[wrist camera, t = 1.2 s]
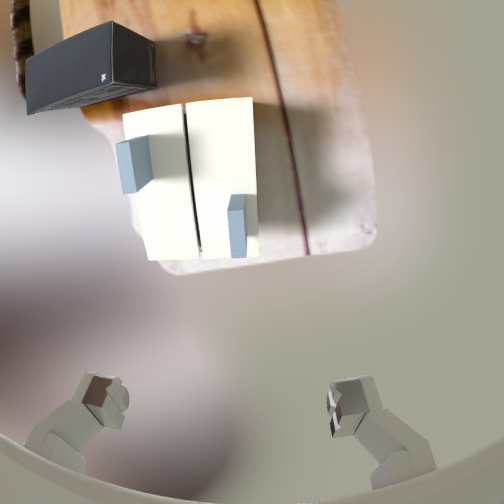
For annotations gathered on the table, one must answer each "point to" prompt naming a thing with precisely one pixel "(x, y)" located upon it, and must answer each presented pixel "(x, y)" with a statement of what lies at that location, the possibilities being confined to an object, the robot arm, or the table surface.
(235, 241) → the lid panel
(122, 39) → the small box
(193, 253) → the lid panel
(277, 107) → the table surface
